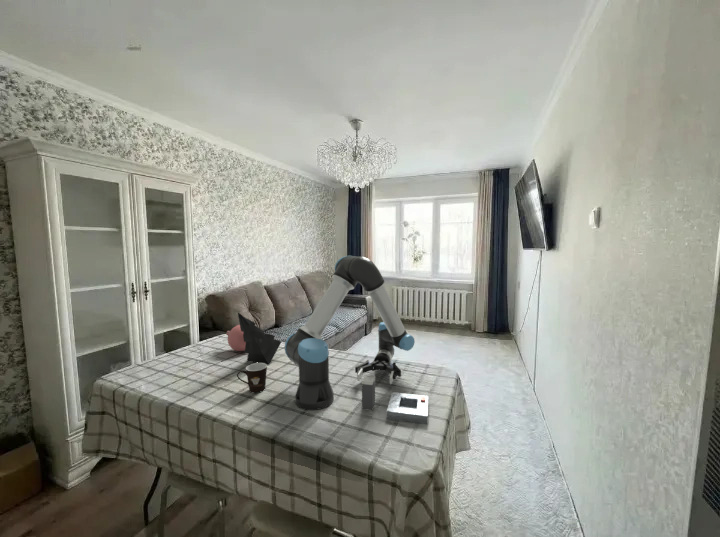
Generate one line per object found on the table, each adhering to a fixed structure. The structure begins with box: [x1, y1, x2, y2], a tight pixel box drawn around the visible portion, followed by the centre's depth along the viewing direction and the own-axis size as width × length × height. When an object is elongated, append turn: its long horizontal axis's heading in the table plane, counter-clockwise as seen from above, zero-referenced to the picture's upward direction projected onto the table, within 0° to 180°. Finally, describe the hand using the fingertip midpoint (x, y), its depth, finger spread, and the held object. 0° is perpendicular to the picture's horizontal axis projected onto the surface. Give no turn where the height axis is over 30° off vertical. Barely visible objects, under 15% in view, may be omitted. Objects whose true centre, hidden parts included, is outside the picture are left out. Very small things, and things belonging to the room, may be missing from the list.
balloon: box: [225, 324, 246, 352], centre depth 180 cm, size 15×20×15 cm
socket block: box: [386, 391, 429, 425], centre depth 112 cm, size 14×14×4 cm
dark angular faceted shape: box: [237, 312, 282, 365], centre depth 157 cm, size 15×15×35 cm
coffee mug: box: [236, 362, 268, 393], centre depth 131 cm, size 12×9×10 cm
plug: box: [361, 374, 376, 411], centre depth 116 cm, size 4×5×11 cm
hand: (374, 379), depth 126 cm, fingers open, 13 cm apart
